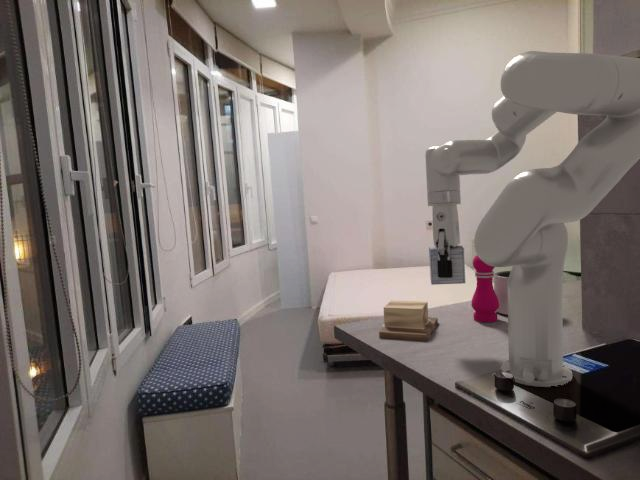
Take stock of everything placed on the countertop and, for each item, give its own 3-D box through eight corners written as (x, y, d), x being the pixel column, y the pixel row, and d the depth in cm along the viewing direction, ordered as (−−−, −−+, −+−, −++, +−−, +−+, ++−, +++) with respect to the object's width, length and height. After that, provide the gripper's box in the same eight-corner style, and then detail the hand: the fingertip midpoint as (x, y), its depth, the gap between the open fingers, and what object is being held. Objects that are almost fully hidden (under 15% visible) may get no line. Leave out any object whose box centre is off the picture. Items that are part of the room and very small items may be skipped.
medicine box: (463, 280, 115) (462, 245, 114) (465, 284, 110) (464, 247, 110) (430, 282, 116) (428, 246, 115) (431, 285, 112) (429, 248, 111)
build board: (426, 340, 116) (426, 334, 116) (377, 337, 121) (377, 331, 121) (437, 323, 131) (437, 317, 130) (393, 320, 136) (393, 315, 135)
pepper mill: (492, 324, 126) (491, 250, 124) (467, 320, 131) (465, 249, 129) (503, 318, 132) (502, 246, 130) (478, 315, 136) (476, 246, 134)
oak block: (422, 328, 121) (421, 309, 121) (384, 325, 125) (383, 307, 125) (428, 319, 129) (427, 301, 128) (392, 318, 133) (391, 300, 132)
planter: (488, 307, 144) (487, 271, 143) (530, 306, 143) (530, 269, 142) (502, 318, 131) (501, 279, 130) (549, 316, 131) (548, 276, 130)
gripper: (455, 198, 102) (458, 281, 104) (464, 197, 118) (467, 269, 119) (420, 200, 105) (424, 281, 107) (434, 199, 121) (437, 269, 122)
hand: (447, 274), depth 113 cm, fingers closed on medicine box, 5 cm apart
